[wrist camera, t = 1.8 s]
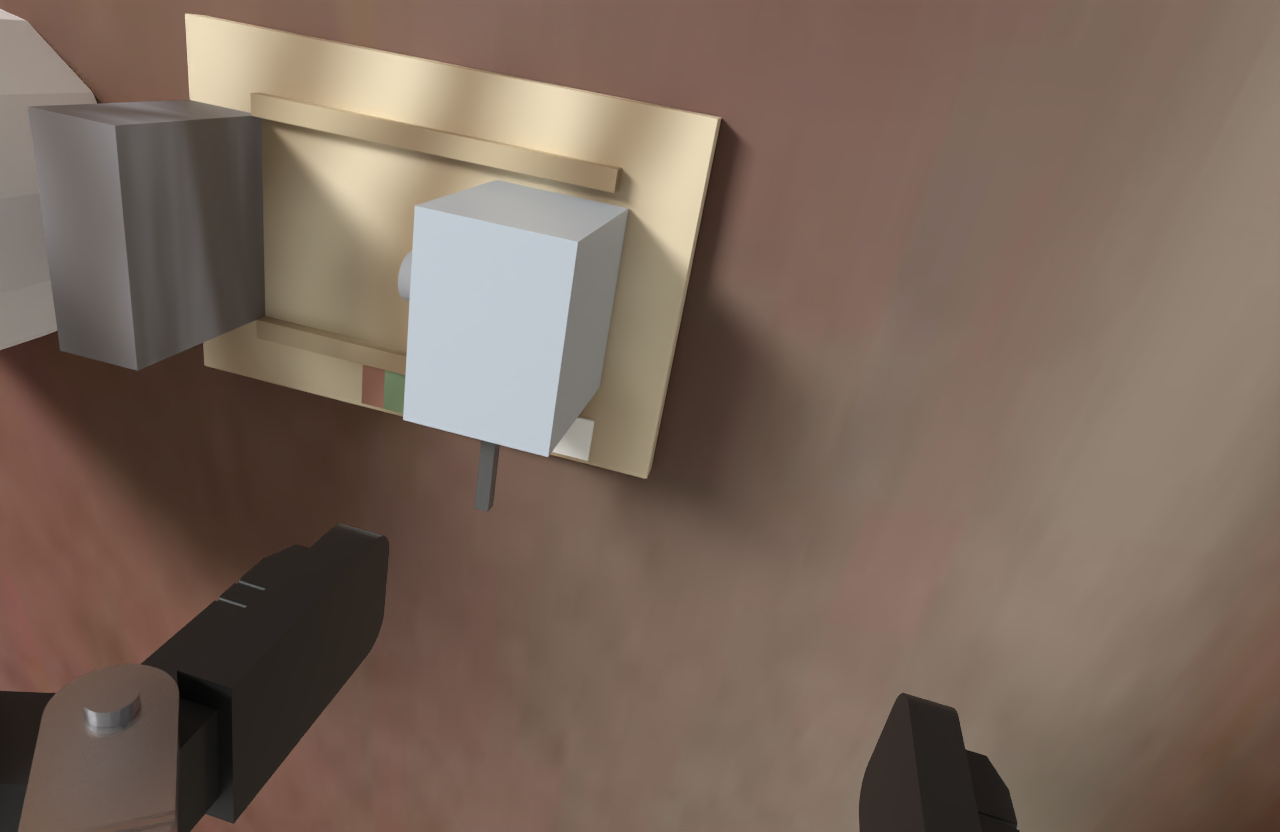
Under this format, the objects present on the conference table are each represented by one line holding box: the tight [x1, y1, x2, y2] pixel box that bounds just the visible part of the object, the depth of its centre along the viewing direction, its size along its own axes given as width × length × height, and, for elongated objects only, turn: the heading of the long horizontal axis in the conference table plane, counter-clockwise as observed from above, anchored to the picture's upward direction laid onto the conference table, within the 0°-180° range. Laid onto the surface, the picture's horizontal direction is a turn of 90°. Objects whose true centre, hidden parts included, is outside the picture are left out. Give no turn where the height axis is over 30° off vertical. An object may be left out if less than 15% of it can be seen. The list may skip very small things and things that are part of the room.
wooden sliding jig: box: [28, 14, 721, 479], centre depth 29 cm, size 20×14×8 cm
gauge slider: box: [398, 180, 629, 512], centre depth 29 cm, size 7×10×6 cm, turn 170°
